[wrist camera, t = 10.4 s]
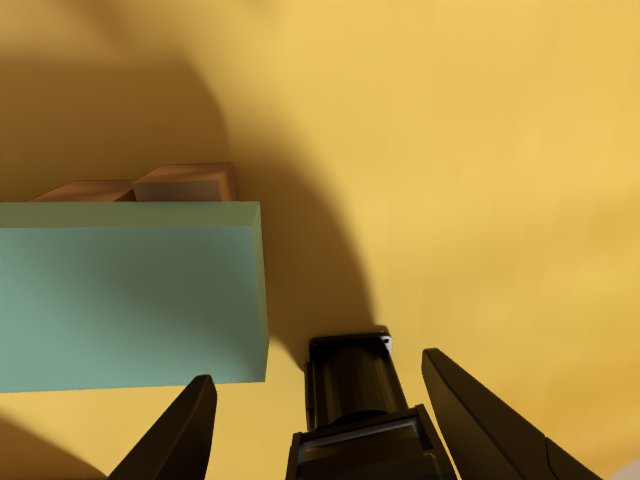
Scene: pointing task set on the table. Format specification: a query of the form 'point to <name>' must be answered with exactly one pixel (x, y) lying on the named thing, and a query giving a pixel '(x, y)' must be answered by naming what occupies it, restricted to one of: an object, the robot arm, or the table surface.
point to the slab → (131, 294)
